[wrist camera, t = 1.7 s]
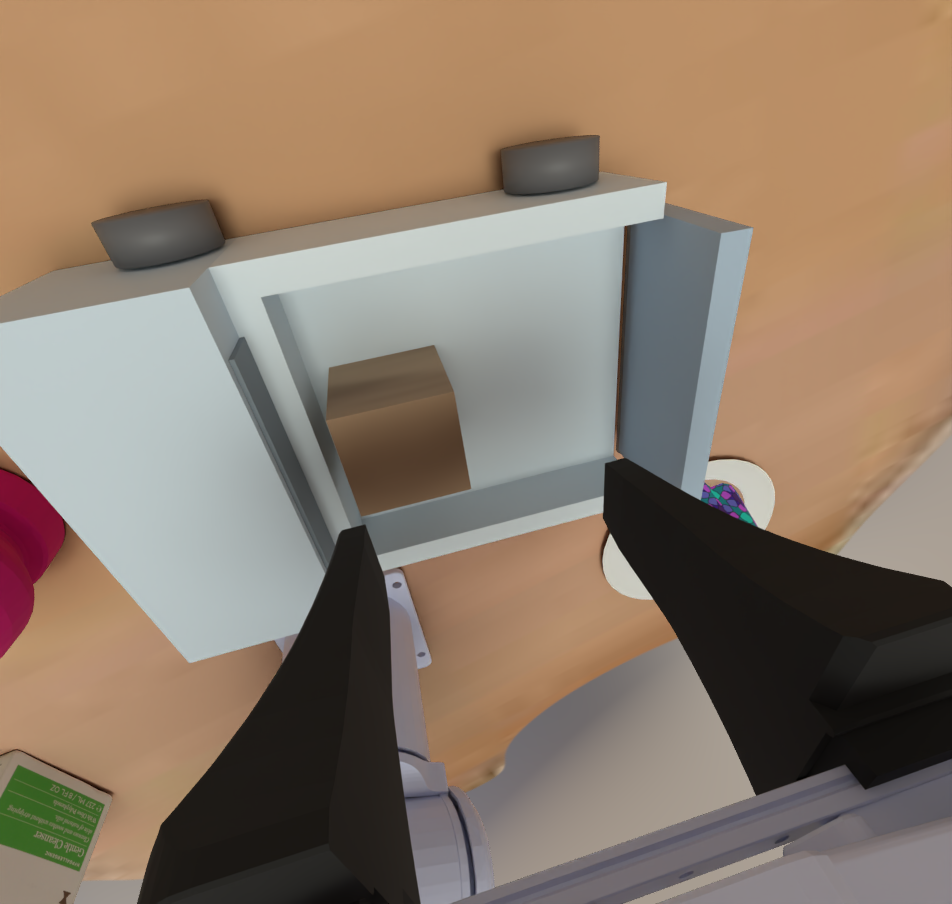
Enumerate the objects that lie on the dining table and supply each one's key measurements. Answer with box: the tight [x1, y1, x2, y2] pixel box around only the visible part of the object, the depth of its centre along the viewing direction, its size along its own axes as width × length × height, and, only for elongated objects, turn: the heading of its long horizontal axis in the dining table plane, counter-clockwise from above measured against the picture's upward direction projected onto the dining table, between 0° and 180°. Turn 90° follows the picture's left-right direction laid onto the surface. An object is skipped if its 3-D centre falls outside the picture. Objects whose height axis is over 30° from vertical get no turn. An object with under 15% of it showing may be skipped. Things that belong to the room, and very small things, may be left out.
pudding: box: [602, 459, 775, 600], centre depth 29 cm, size 12×12×5 cm
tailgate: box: [616, 203, 753, 500], centre depth 18 cm, size 11×6×1 cm
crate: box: [326, 345, 471, 517], centre depth 17 cm, size 4×4×4 cm
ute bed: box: [0, 135, 667, 663], centre depth 18 cm, size 16×19×6 cm
